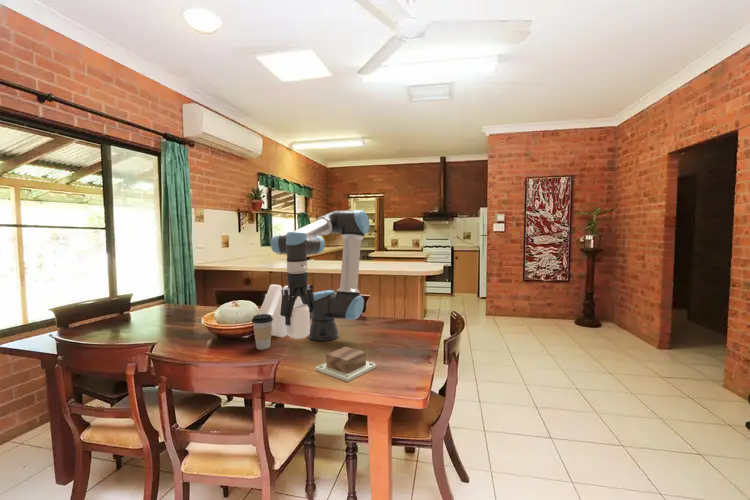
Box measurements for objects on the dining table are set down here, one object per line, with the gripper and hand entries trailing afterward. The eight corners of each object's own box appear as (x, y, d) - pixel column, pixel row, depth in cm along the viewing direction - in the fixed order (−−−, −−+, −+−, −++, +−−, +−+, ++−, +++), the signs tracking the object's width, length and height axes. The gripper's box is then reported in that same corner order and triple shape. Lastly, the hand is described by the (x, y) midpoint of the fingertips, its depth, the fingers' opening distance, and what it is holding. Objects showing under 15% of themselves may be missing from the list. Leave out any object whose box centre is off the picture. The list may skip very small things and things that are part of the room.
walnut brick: (326, 366, 137) (326, 354, 137) (345, 358, 146) (345, 346, 145) (347, 373, 130) (347, 360, 130) (365, 364, 139) (365, 352, 139)
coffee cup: (277, 345, 165) (277, 314, 164) (265, 352, 156) (264, 319, 155) (260, 343, 168) (260, 313, 167) (247, 350, 159) (246, 317, 158)
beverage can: (290, 333, 139) (289, 303, 138) (310, 332, 140) (309, 303, 139) (286, 340, 131) (285, 308, 130) (308, 339, 132) (307, 307, 131)
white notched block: (284, 325, 200) (283, 282, 198) (306, 328, 193) (305, 284, 191) (259, 334, 183) (258, 287, 181) (281, 338, 176) (280, 289, 174)
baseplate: (315, 370, 136) (315, 365, 136) (345, 357, 150) (345, 353, 150) (347, 381, 126) (347, 376, 126) (376, 366, 139) (376, 362, 139)
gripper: (281, 276, 123) (283, 339, 125) (323, 269, 139) (325, 325, 141) (268, 274, 127) (270, 335, 129) (311, 268, 144) (312, 322, 145)
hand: (298, 330), depth 135 cm, fingers closed on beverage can, 8 cm apart
